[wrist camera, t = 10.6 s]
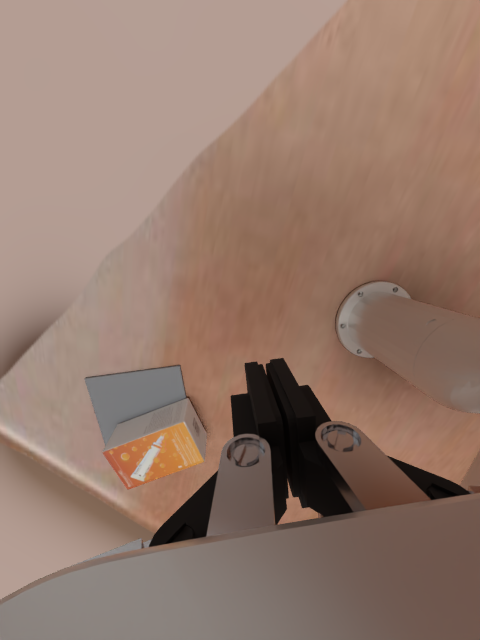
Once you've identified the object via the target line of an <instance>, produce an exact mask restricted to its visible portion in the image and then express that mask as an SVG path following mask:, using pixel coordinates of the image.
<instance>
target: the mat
mask: <svg viewBox="0 0 480 640" xmlns="http://www.w3.org/2000/svg"><path fill="white" fill-rule="evenodd" d="M85 382H86V385H87V388H88V392H89V395H90V398H91V401H92V404H93V407H94V411H95V414H96V417H97V420H98V423H99V427H100V430H101V433H102V436H103V439H104V443H105V446H106V444H107V443H108V441H109V439H110V437H111V435H112V434H113V432H114V430H115V428H116V426H117V424H120V423H123V422H125V421H128V420H131V419H133V418H136V417H139V416H141V415H144V414H146V413H149V412H152V411H154V410H157V409H160V408H162V407H165V406H167V405H170V404H173V403H175V402H178V401H181V400H183V399H186V394H185V389H184V383H183V378H182V373H181V368H180V365H177V366H169V367H161V368H154V369H146V370H139V371H131V372H124V373H116V374H109V375H101V376H94V377H86V378H85Z"/></svg>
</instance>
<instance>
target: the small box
mask: <svg viewBox="0 0 480 640" xmlns="http://www.w3.org/2000/svg"><path fill="white" fill-rule="evenodd" d="M206 439H207V433H206V431H205V429H204V427H203V425H202V423H201V421H200V420H199V418H198V416H197V414H196V412H195V410H194V408H193V406H192V404H191V402H190V400H189V398H186V399H183V400H181V401H178V402H175V403H173V404H170V405H167V406H165V407H162V408H160V409H157V410H154V411H152V412H149V413H146V414H144V415H141V416H139V417H136V418H133V419H131V420H128V421H125V422H123V423H120V424H117V426H116V428H115V430H114V432H113V434H112V435H111V437H110V439H109V441H108V443H107V444H106V446H105V448H104V450H103V452H102V453H103V454H104V456H105V457H106V459H107V460H108V462H109V463H110V465H111V466H112V468H113V469H114V470H115V472H116V473H117V475H118V476H119V478H120V479H121V481H122V482H123V484H124V485H125V487H126V488H127V489H131V488H134V487H137V486H139V485H142V484H145V483H147V482H150V481H153V480H156V479H159V478H161V477H164V476H167V475H170V474H172V473H175V472H178V471H181V470H183V469H186V468H189V467H191V466H194V465H197V464H200V463H203V462H204V461H205V453H206Z"/></svg>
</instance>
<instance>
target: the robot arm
mask: <svg viewBox="0 0 480 640" xmlns="http://www.w3.org/2000/svg"><path fill="white" fill-rule="evenodd" d="M358 293H359V294H358ZM341 324H342V325H341ZM340 325H341V326H340ZM336 332H337V335H338V338H339V340H340V342H341V343H342V345H343V346H344V347H345V348H346V349H347V350H349V351H350V352H351V353H353V354H355V355H357V356H360V357H364V358H374V357H375V358H376V359H377V360H379V361H380V362H382V363H383V364H384V365H386V366H387V367H388V368H390V369H391V370H393V371H394V372H395V373H397V374H398V375H400V376H401V377H402V378H404V379H405V380H407V381H408V382H409V383H411V384H412V385H413V386H415V387H416V388H418V389H419V390H420V391H422V392H423V393H425V394H426V395H427V396H429V397H430V398H432V399H433V400H435V401H436V402H438V403H439V404H441V405H443V406H446V407H448V408H450V409H454V410H457V411H461V412H467V413H477V414H480V318H477V317H473V316H470V315H466V314H463V313H459V312H455V311H452V310H448V309H445V308H441V307H437V306H434V305H430V304H427V303H423V302H419V301H416V300H412V299H411V297H410V295H409V294H408V293H407V292H406V291H405V290H404V289H403V288H402V287H400V286H398V285H396V284H394V283H390V282H385V281H375V282H370V283H367V284H364V285H362V286H360V287H358V288H356V289H355V290H354V291H352V292H351V293H350V294H349V295H348V296H347V297H346V298H345V300H344V301H343V303H342V304H341V306H340V308H339V311H338V313H337V317H336ZM245 373H246V381H247V390H248V393H246V394H239V395H232V396H231V407H232V420H233V434H234V437H233V438H232V439H230V440H229V441H228V442H227V443H226V444H225V445H224V447H223V450H222V453H221V458H220V464H219V469H218V471H217V472H216V473H215V474H214V475H213V476H212V477H211V478H210V479H209V480H208V481H207V482H206V483H205V484H204V485H203V486H202V487H201V488H200V489H199V490H198V491H197V492H196V493H195V494H194V495H193V496H192V497H191V498H189V499H188V500H187V501H186V502H185V503H184V504H183V505H182V506H181V507H180V508H179V509H178V510H177V511H176V512H175V513H174V514H173V515H172V516H171V517H170V518H169V519H168V520H167V521H166V522H165V523H164V524H163V525H162V526H161V527H160V528H159V530H158V531H157V532H156V533H155V535H154V537H153V539H151V540H149V541H146V542H144V543H143V541H142V538H140V539H138V540H135V541H133V542H130V543H128V544H125V545H123V546H120V547H118V548H115V549H113V550H110V551H108V552H105V553H103V554H100V555H98V556H95V557H93V558H90V559H88V560H85V561H83V562H80V563H78V564H75V565H73V566H70V567H67V568H64V569H62V570H60V571H57V572H55V573H52V574H50V575H48V576H45V577H43V578H40V579H38V580H36V581H34V582H32V583H30V584H28V585H26V586H25V587H23V588H21V589H19V590H17V591H15V592H13V593H12V594H10V595H8V596H6V597H4V598H2V599H1V600H0V640H480V450H479V452H478V453H477V455H476V457H475V459H474V460H473V462H472V464H471V466H470V467H469V469H468V471H467V473H466V475H465V476H464V478H463V480H462V482H461V484H460V485H458V484H456V483H454V482H452V481H450V480H447V479H445V478H442V477H440V476H437V475H434V474H432V473H429V472H427V471H424V470H422V469H419V468H417V467H414V466H412V465H409V464H407V463H404V462H402V461H399V460H397V459H394V458H392V457H389V456H387V455H385V454H384V453H383V452H382V451H381V450H380V449H379V448H378V447H377V446H376V445H375V444H374V443H373V442H372V441H371V440H370V439H369V438H368V437H367V436H366V435H365V434H364V433H363V432H362V431H361V430H360V429H358V428H357V427H356V426H353V425H351V424H349V423H346V422H342V421H331V420H330V418H329V417H328V415H327V413H326V412H325V410H324V409H323V407H322V406H321V404H320V402H319V401H318V399H317V398H316V396H315V395H314V393H313V391H312V390H311V388H310V387H309V386H308V385H304V386H299V385H298V383H297V382H296V380H295V378H294V376H293V375H292V373H291V371H290V369H289V368H288V366H287V364H286V362H285V360H284V359H283V358H280V359H272V360H270V363H268V364H266V373H267V375H266V373H265V370H264V367H263V365H262V364H260V365H258V363H257V362H250V363H245ZM287 479H288V482H289V485H290V489H291V492H292V495H293V497H299V499H300V503H301V506H302V508H307V507H310V508H311V509H313V510H315V511H316V512H318V518H316V519H310V520H304V521H298V522H292V523H286V524H280V525H278V524H277V523H278V522H279V520H280V519H281V517H282V516H283V514H284V513H285V511H286V510H287V505H286V498H289V495H288V482H287Z"/></svg>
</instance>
